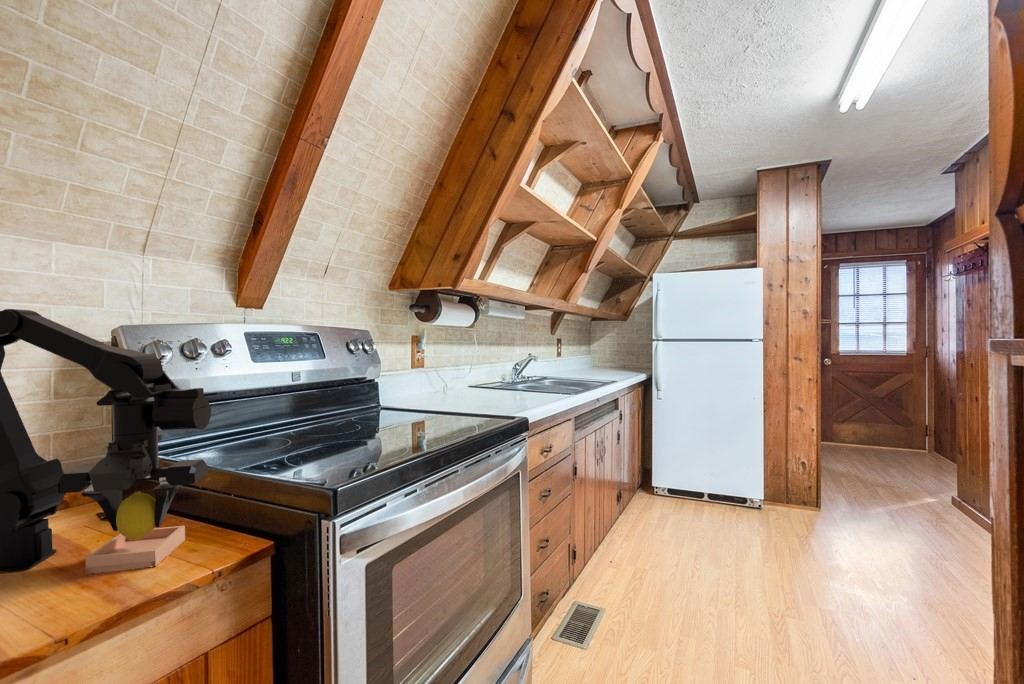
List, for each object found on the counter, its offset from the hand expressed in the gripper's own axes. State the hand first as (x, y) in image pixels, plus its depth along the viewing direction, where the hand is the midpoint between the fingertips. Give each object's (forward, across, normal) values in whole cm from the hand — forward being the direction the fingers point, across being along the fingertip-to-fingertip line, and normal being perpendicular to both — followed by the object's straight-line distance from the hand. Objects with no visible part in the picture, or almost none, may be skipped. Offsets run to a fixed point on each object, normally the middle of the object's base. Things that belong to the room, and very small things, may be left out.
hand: (137, 528), depth 79 cm
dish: (+4, 0, 0) cm, 4 cm away
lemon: (+2, 0, 0) cm, 2 cm away
